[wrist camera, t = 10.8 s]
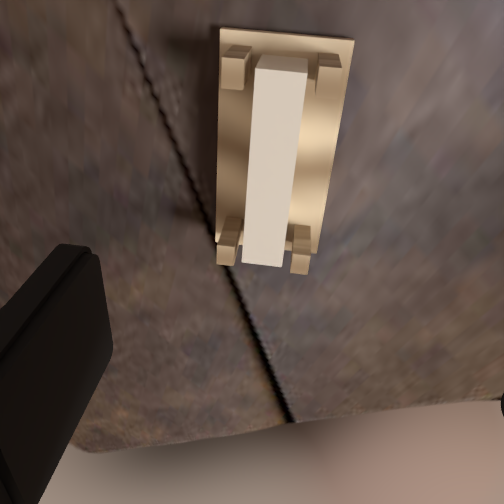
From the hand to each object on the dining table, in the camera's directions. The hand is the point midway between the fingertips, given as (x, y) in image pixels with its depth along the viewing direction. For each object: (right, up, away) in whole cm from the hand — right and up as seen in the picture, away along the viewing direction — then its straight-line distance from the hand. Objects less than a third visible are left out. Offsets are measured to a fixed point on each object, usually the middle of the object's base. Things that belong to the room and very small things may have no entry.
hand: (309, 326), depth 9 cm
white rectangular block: (+1, +10, +29) cm, 30 cm away
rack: (+1, +10, +29) cm, 31 cm away
